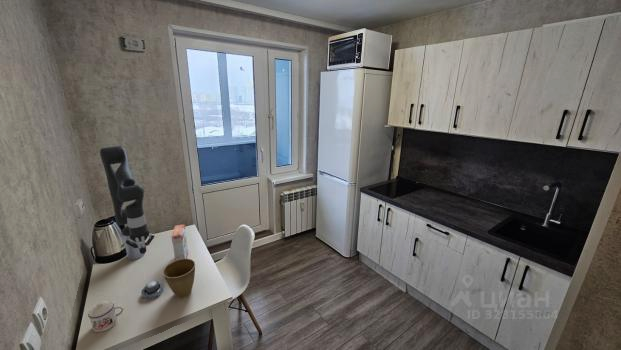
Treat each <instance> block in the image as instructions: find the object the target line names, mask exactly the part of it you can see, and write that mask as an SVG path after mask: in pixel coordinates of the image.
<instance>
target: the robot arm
mask: <svg viewBox="0 0 621 350" xmlns="http://www.w3.org/2000/svg"><path fill="white" fill-rule="evenodd" d="M99 155H100V158H101V162H102V165H103V169H104V171H105V175H106V180H107V184H108V185H107V186H108V191H109V194H110V197H111V201H112V206H113V210H114V211H113V212H114V219H115V221H116V224H117V225H118V226H123V225H124V226H125V225H126V226H125V227H124V228H122V230H121V235H122V239H123V243H124V248H125V250H126V256H127V259H128V260H131V261H132V260H133V261H134V260H138V259H141V258H142V257H143V256H145V254H146V253H147V246H150V244H151V243H152V241H153V240H154V238H155V233H150V231H149V230H148V225H147V219H146V216H145V212H144V204H143V201H144V195H145V190H144V187H143V186H142V185H140V184H136V180H135V178H134V176H133V173H132V171H131V165H130V161H129V157H128V153H127V151H126V149H125V147H123V146H120V145H118V146H109V147H102V148H101V149H100V150H99ZM117 164H119V166H118V167H117V169H116V170H115V169H114V167H113V166H112V165H117ZM132 201H133V202H132ZM127 202H131V203H129V204H127V205H125V208H123V209H122V207H123V205H124V203H127ZM146 240H147V241H146Z"/></svg>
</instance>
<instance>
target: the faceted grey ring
mask: <svg viewBox="0 0 621 350" xmlns="http://www.w3.org/2000/svg"><path fill="white" fill-rule="evenodd" d="M157 282H158V286H159V289H158V290H157V291H156V292H154V293H151V294H147V292H146V287H145V286H144V287H142V289H141V298H142V299H144V300H153V299H156V298H158V297H159V296H161V295H162V294H163V292H164V285H163V283H162V282H160V281H157Z"/></svg>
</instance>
